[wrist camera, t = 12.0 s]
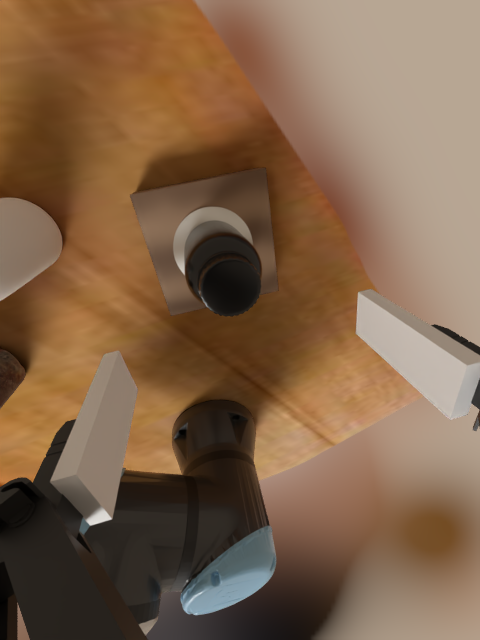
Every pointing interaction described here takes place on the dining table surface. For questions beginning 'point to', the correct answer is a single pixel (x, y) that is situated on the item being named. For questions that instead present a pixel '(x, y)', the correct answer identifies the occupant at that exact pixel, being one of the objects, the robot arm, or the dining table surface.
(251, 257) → the supplement bottle
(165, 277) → the walnut plinth
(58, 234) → the milk bottle
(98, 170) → the dining table surface
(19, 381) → the brown cylinder
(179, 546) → the robot arm
